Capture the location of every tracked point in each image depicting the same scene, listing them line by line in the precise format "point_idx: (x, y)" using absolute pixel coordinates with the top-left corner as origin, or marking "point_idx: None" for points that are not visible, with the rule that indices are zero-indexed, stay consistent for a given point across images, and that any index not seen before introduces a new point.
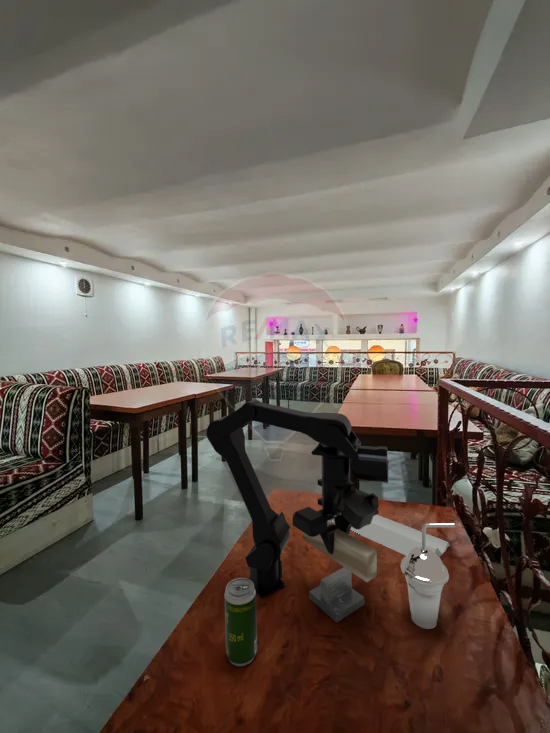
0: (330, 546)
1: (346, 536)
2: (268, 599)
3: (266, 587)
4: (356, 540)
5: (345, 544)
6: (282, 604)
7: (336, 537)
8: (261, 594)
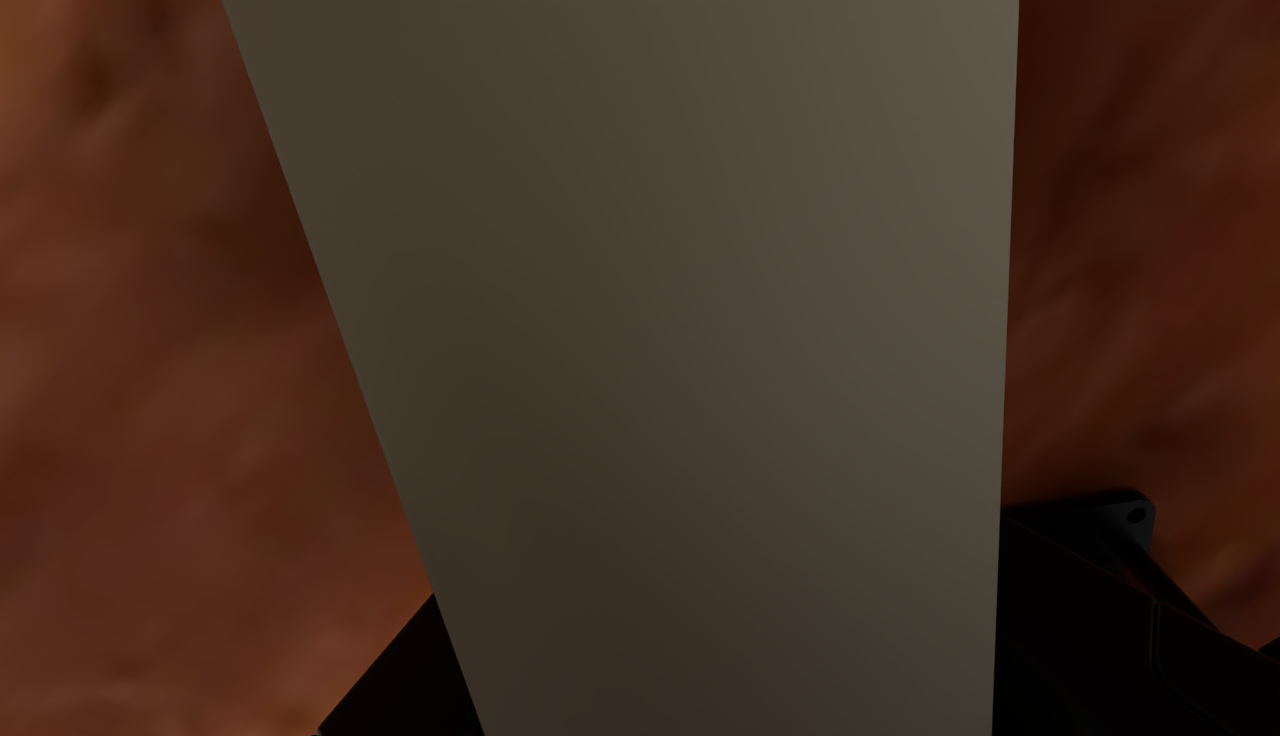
0: (1017, 534)
1: (616, 597)
2: (1101, 464)
3: (1103, 549)
4: (387, 201)
5: (980, 233)
6: (1052, 378)
7: (979, 676)
8: (1131, 518)
